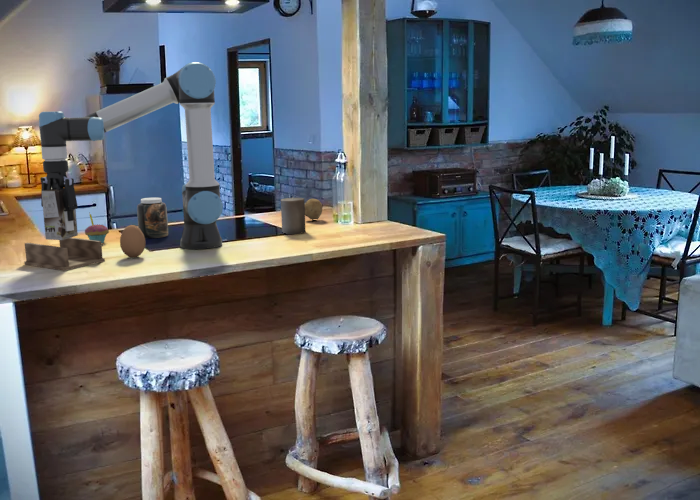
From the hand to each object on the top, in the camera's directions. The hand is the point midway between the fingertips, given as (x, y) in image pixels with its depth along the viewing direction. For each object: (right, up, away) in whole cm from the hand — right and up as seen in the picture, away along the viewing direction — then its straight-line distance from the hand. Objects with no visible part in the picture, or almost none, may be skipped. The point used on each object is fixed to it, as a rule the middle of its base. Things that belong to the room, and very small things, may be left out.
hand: (61, 229), depth 233 cm
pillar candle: (+72, 0, +55) cm, 91 cm away
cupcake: (-1, -4, +38) cm, 38 cm away
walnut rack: (0, -11, +2) cm, 11 cm away
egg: (+21, -9, +9) cm, 25 cm away
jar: (+16, -1, +51) cm, 54 cm away
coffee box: (0, -3, +1) cm, 3 cm away
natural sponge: (+78, +6, +84) cm, 115 cm away
